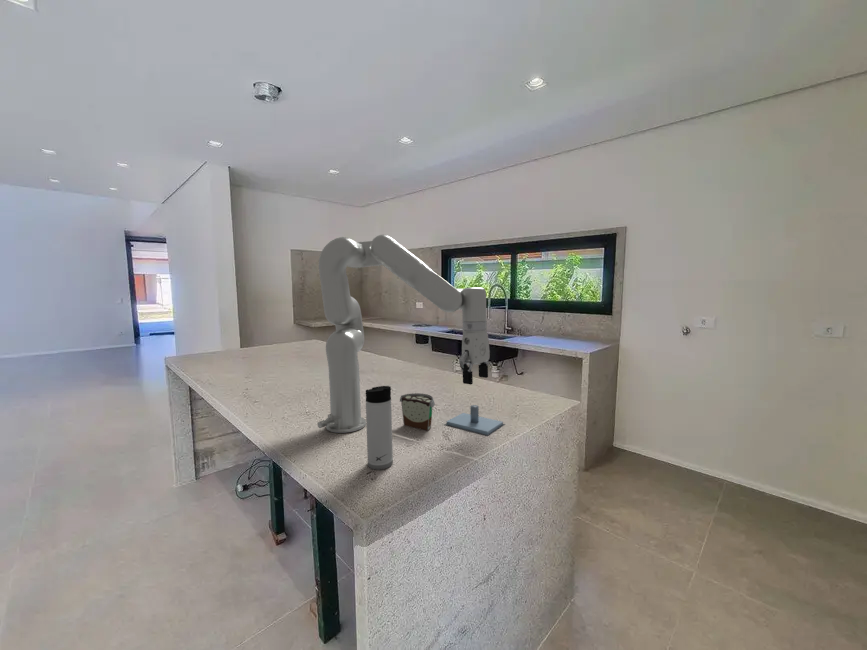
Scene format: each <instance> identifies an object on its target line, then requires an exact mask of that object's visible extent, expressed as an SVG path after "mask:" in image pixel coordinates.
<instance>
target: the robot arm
mask: <svg viewBox="0 0 867 650" xmlns="http://www.w3.org/2000/svg"><path fill="white" fill-rule="evenodd" d="M378 266H379V267H380V266H383V267H384V268H386V269H387V270H388V271H390V273H392V274H393V275H395V276H396V277H397V278H399V279H400V280H401V281H403V282H404V284H407V286H408V287H411V288H412V289H413V290H415V291H416V292H418V293H419V294H421V295H422V296H423V297H424V298H426V299H427V300H429V302H431V303H432V304H434V306H436V307H437V308H438V309H440V310H441V311H442V312H445V313H455V312H456V311H460V310H461V314H462V315H461V316H462V320H461V321H462V323H461V324H462V337H461V338H462V339H461V355H460V357H459V358H458V361H459V362H458V363H459V367H460V368H461V371H462V383H463V384H464V385H465V384H466V385H473V382H474V381H473V380H474V379H473V371H472V369H473V366H474V365H478V377H479V378H485V379H487V378H489V364H490V363H489V360H490V355H491V354H490V353H491V350H490V343H489V342H490V341H489V336H488V331H487V330H488V328H487V326H488V325H487V291H486V288H484V287H478V286H477V287H476V286H475V287H474V286H473V287H472V286H471V287H465V288H458V287H457V288H456V287H454V286H453V285H452V284H450V283H449V282H448V281H447V280H445V279H444V278H443V277H441V276H440V275H439V274H437V272H435V271H433V269H431V268H430V267H429V266H428V265H427V264H426V263H425V262H424V261H423V260H421V259H420V258H419V257H418V256H416V254H413V253H412V252H411V251H409V250H408V249H407V248H406V247H404V246H403V245H402V244H400V243H399V242H398V241H397V240H396V239H394V238H393V237H392V236H390V235H388V234H379V235H375V237H373V239H372V240H369V241H366V240H365V241H356V240H354V239H353V238H349V237H346V236H345V237H344V236H341V237H336V238H334V239H331V240H330V241H329V242H328V243H327V244H326V245H325V246H324V247H323V248H322V250H321V252H320V255H319V258H318V275H319V281H320V290H321V297H322V305H323V312H324V316H325V319H326V320H327V322H328V323H330V324H331V325H334V326H335V331H333V332H332V333H331V334H330V335H329V336H328V338H327V340H326V343H325V355H326V358H327V366H328V380H329V406H330V414H327V417H326V418H325V420H323V419H322V420H321V421H318V422H317V427H318V428H319V429H321V428H326V430H327V431H328V432H332V433H336V434H345V433H351V432H352V433H353V432H356V431H359V430H361V429H363V428H364V427H366V426H367V424H366V419H365V418H364V417H362V408H361V382H360V381H361V378H360V364H359V359H358V358H359V357H358V353H359V352H360V351H361V350H362V349H363V347H364V344H365V331H364V324H363V316H362V310H361V306H360V303H359V302H358V300H357V299H355V297H353V296H351V291H350V283H349V277H348V274H347V268H354V269H356V268H357V269H359V268H368V267H378Z"/></svg>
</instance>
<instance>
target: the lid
mask: <svg viewBox="0 0 867 650" xmlns="http://www.w3.org/2000/svg"><path fill="white" fill-rule="evenodd" d="M469 407H470V411H469V412H470V413H467V412H466V413H465V412H462V413H460V414H458V415H456V416H454V417H452V418H450V419H448V420H446V423H447V425H451V426H455V427H459V428H463V429H467V430H471V431H474V432H478V433H482V434H486V435H488V434H490V433H491V432H493V431H494V430H496V429H497V428H499V427H500V426H502V425H503V424H504V422H503V421H502V420H497V419H492V418H488V417H483V416H479V415H480V413H479V408H480V407H479V405H476V404H472V405H470V406H469ZM502 427H503V426H502Z"/></svg>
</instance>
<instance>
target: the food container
mask: <svg viewBox="0 0 867 650" xmlns="http://www.w3.org/2000/svg"><path fill="white" fill-rule="evenodd" d="M399 402H400V403H401V411H402V421H403V426H407V427H410V428H415V429H419V430H424V431H427V432H428V431H430V430H431V429H432V421H433V419H432V418H433V408H434V407H435V405H436V404H435V399H434V398H433V396H432V395H431V394H426V393H421V392H420V393H418V392H417V393H416V392H415V393H413V392H412V393H405V394H401V395H400V398H399Z"/></svg>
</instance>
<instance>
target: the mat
mask: <svg viewBox="0 0 867 650" xmlns="http://www.w3.org/2000/svg"><path fill="white" fill-rule="evenodd" d="M505 425H506V423H503V425H502V426H500V427H499V428H497V429H496V430H494V431H493V432H491V433H490V434H488V435H486V434H482V433H478V432H474V431H471V430H467V429H463V428H459V427H455V426H451V425H447V422H446V423H444V424H443V426H446V427H450V428H453V429H458V430H459V431H460V430H461V431H465V432H469V433H473V434H475V435H476V434H477V435H480V436H484V437H490V436H491V435H493V434H494V433H495V432H496V431H498V430H500V429H501V428H502V427H504V426H505Z"/></svg>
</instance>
